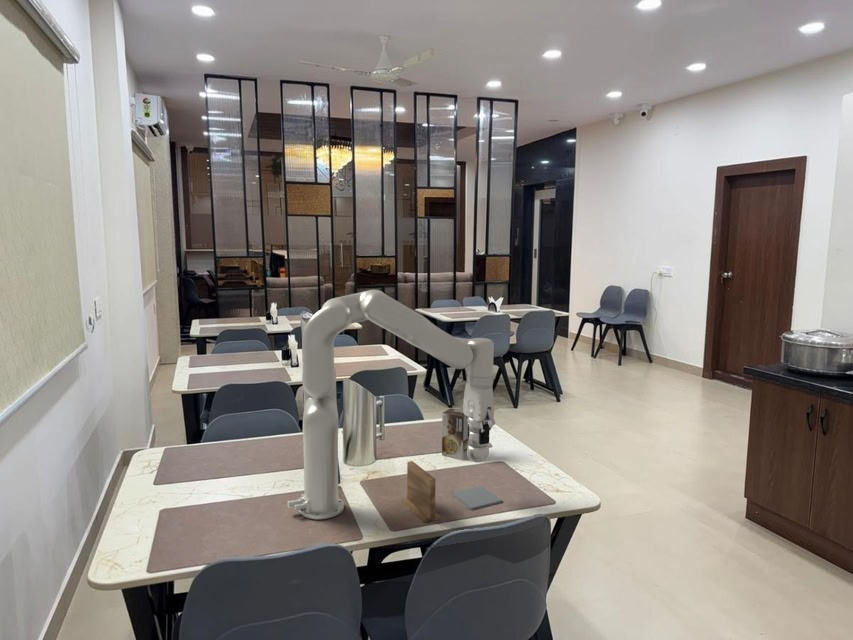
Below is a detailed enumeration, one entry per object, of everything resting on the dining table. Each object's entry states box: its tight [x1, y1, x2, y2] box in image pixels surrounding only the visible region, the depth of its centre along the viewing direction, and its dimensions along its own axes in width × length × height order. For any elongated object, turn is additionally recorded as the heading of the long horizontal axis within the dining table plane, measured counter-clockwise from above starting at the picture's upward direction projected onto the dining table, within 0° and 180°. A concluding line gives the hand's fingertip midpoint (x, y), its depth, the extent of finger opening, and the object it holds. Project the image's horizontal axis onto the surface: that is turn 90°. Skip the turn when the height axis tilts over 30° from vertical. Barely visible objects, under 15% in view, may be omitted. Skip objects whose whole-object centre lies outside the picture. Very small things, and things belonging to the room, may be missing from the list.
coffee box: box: [441, 408, 469, 461], centre depth 201 cm, size 9×6×16 cm
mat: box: [450, 485, 503, 511], centre depth 168 cm, size 11×11×1 cm
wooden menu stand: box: [401, 460, 441, 523], centre depth 160 cm, size 5×14×12 cm, turn 28°
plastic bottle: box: [467, 409, 490, 463], centre depth 165 cm, size 6×7×20 cm
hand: (478, 439), depth 166 cm, fingers closed on plastic bottle, 5 cm apart
